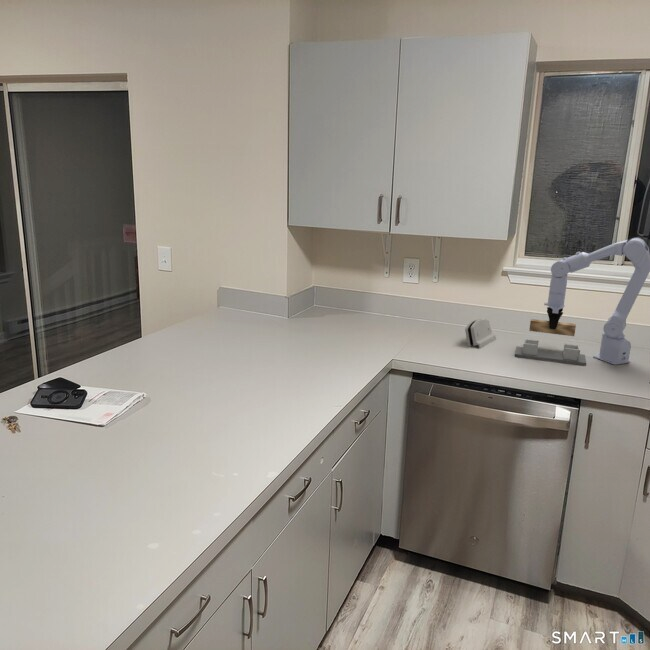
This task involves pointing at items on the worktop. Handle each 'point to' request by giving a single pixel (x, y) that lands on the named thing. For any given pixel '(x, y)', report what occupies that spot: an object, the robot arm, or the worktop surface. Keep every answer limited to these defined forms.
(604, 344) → the robot arm
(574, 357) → the bracket board
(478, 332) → the grey stand
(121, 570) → the worktop surface
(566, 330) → the rail
